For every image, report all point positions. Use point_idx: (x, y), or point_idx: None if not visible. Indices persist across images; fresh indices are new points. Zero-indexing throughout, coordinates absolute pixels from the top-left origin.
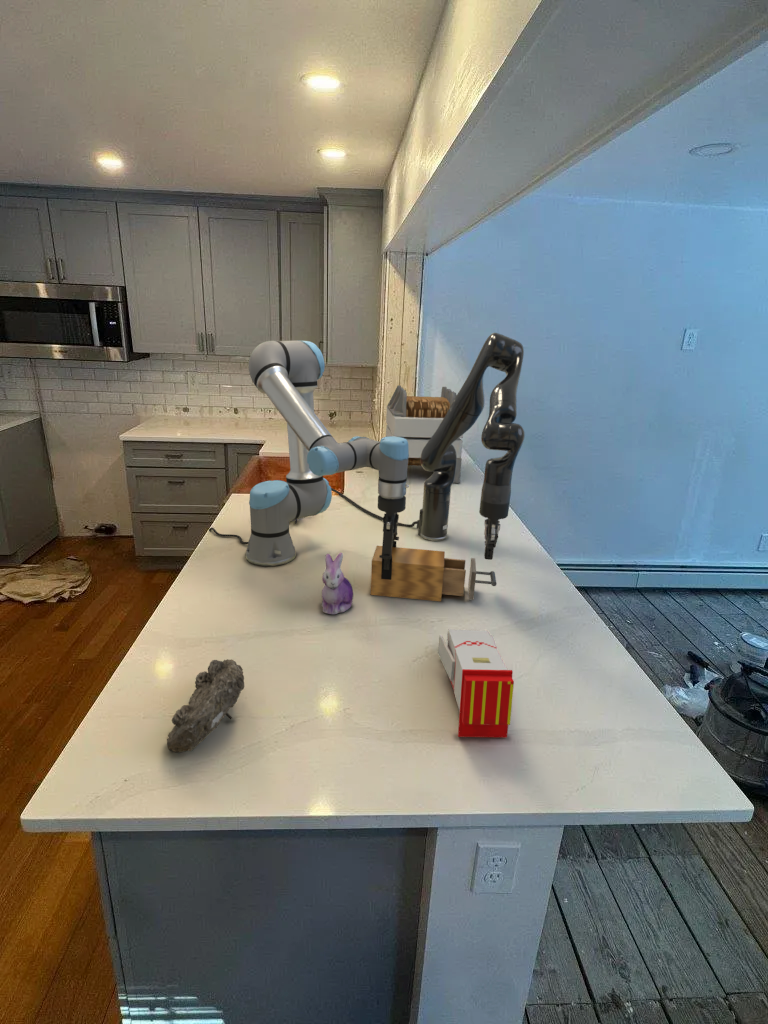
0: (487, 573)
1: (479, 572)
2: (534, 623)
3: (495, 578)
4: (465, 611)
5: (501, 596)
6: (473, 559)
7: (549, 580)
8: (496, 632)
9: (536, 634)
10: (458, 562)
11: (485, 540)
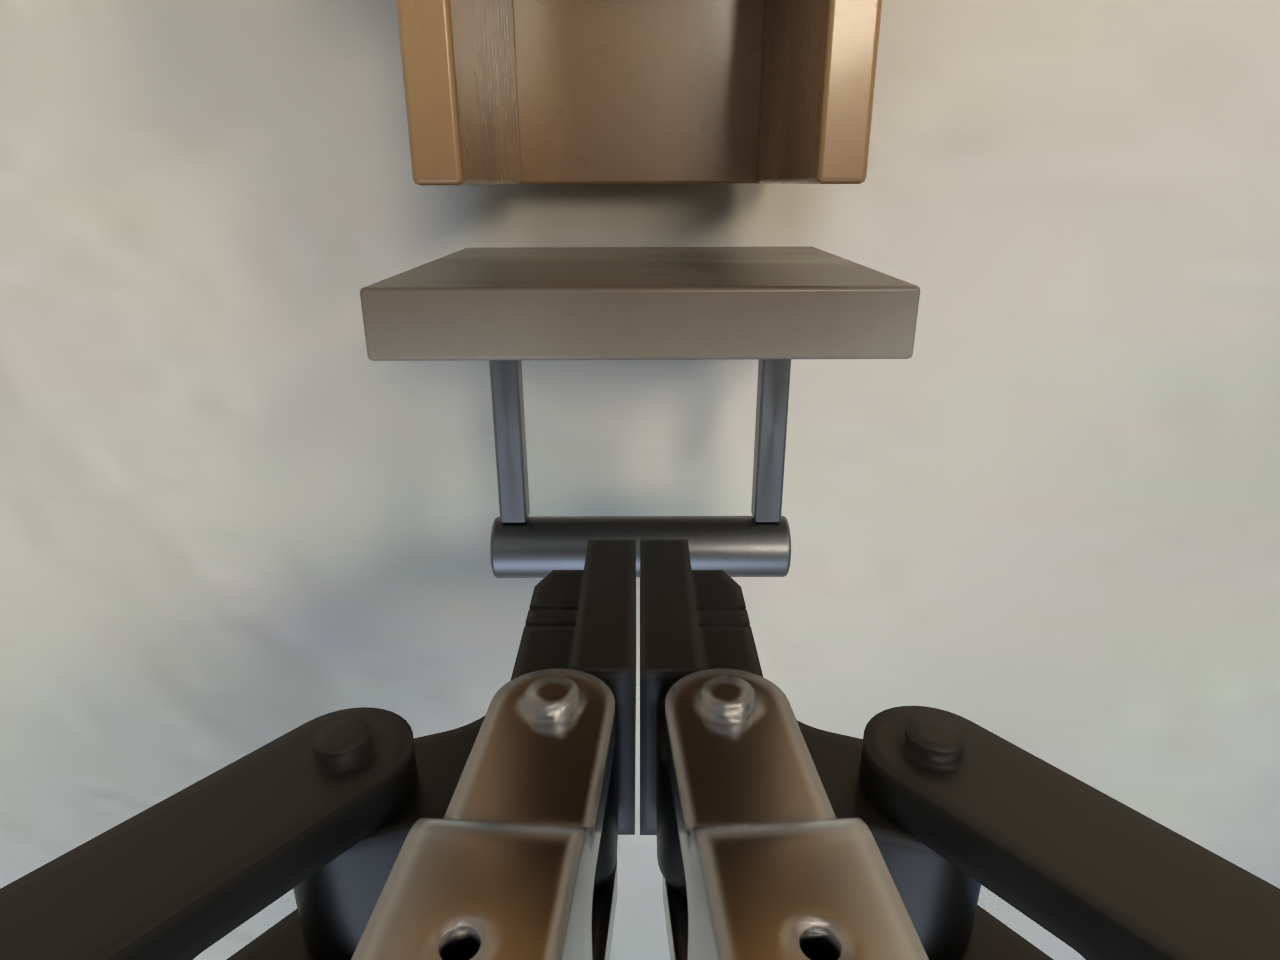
0: (755, 490)
1: (762, 394)
2: None
3: None
4: (295, 210)
5: None
6: (859, 328)
7: (1022, 914)
8: (32, 475)
9: (136, 745)
10: (818, 56)
11: (731, 735)
